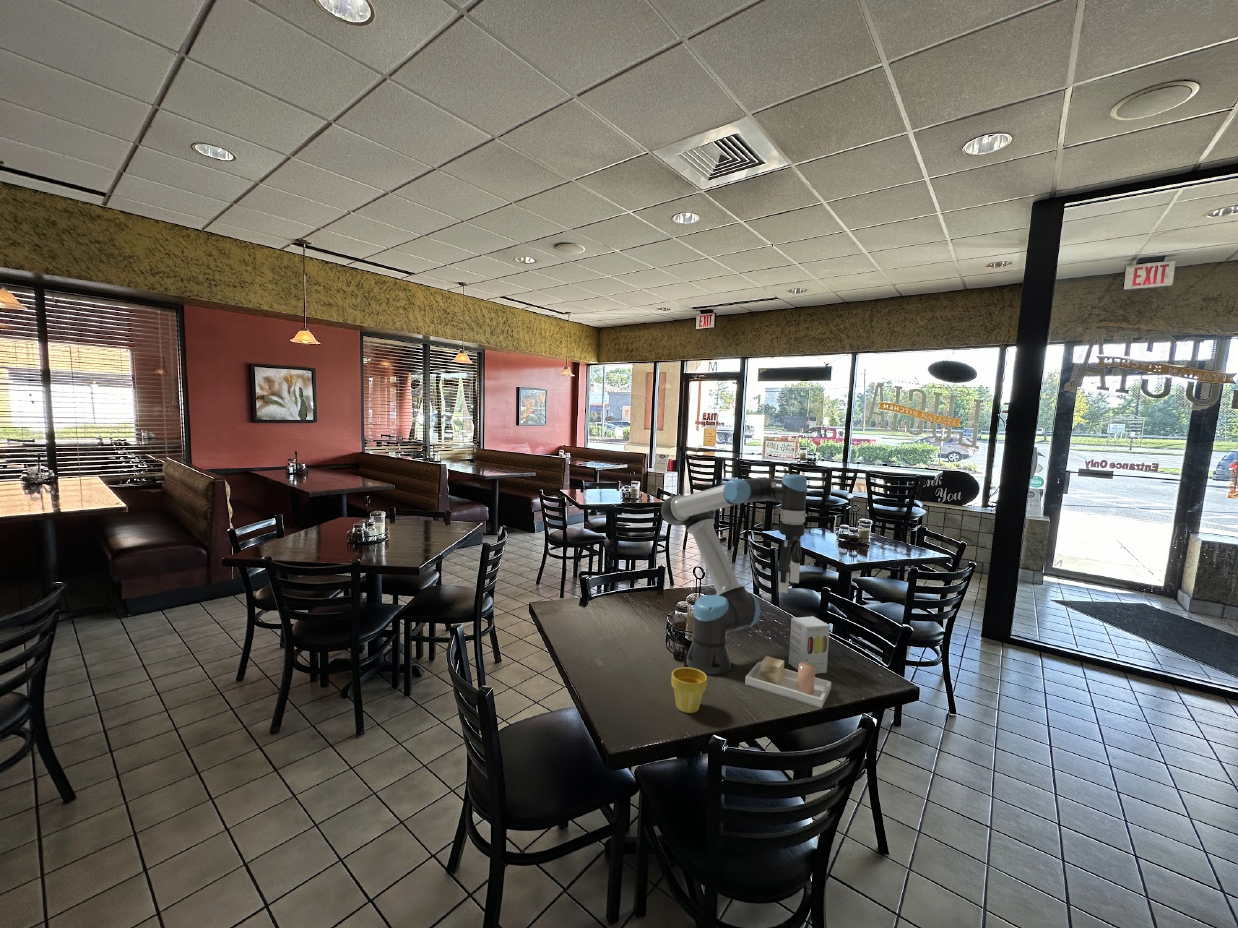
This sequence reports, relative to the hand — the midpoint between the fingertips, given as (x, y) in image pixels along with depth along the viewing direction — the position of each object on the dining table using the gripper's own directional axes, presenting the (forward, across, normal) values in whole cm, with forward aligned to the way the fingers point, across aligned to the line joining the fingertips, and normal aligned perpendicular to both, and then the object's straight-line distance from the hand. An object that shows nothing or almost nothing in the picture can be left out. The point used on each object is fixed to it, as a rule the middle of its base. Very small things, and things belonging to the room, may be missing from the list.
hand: (789, 587), depth 164 cm
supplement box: (+32, +15, -4) cm, 35 cm away
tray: (+32, -3, -2) cm, 32 cm away
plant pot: (+32, -33, +19) cm, 50 cm away
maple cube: (+31, -2, +4) cm, 31 cm away
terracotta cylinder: (+31, -3, -7) cm, 32 cm away
